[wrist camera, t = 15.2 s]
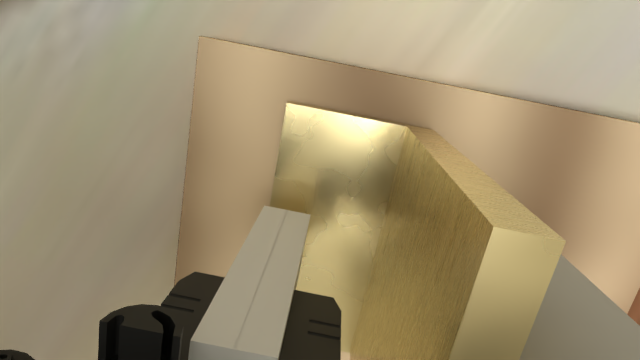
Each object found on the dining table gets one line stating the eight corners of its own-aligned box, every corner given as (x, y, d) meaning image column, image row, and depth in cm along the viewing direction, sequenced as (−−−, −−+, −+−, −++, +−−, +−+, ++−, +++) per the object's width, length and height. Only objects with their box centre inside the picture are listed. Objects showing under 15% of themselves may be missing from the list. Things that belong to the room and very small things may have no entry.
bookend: (252, 323, 17) (155, 600, 8) (289, 100, 14) (205, 168, 6) (374, 347, 17) (404, 651, 8) (433, 129, 14) (565, 241, 6)
